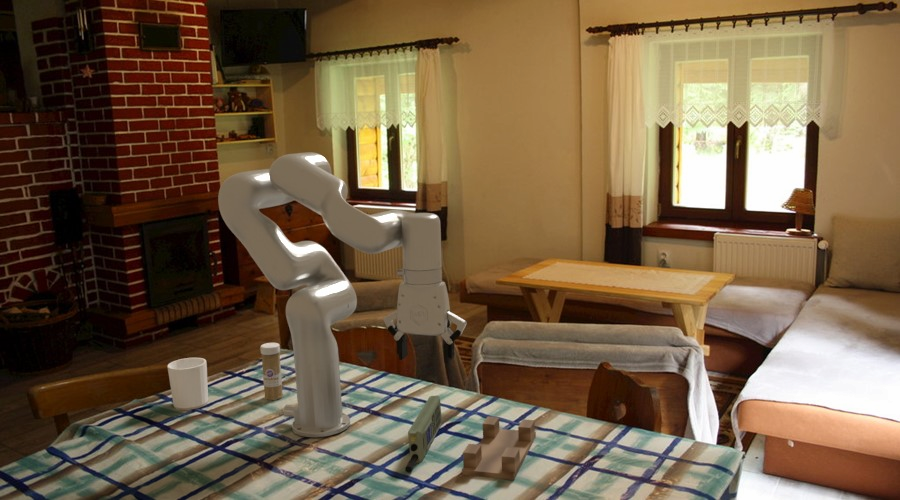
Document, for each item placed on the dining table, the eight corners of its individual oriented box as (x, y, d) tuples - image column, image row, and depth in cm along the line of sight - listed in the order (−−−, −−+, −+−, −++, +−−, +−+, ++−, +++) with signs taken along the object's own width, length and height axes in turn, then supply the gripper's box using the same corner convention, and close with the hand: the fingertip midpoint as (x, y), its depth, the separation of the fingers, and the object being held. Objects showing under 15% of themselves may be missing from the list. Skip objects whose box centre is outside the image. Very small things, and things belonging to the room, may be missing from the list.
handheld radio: (444, 424, 172) (417, 476, 148) (429, 424, 172) (400, 476, 148) (442, 395, 171) (414, 443, 146) (427, 395, 171) (397, 443, 147)
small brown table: (462, 474, 147) (461, 454, 146) (489, 432, 166) (488, 414, 165) (513, 480, 144) (513, 459, 143) (535, 436, 163) (535, 418, 162)
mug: (218, 401, 191) (214, 360, 189) (188, 413, 183) (184, 371, 182) (188, 393, 197) (184, 354, 195) (158, 405, 189) (153, 364, 188)
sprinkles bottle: (264, 401, 189) (260, 348, 187) (264, 395, 193) (260, 343, 191) (283, 399, 190) (279, 346, 188) (283, 393, 194) (279, 341, 192)
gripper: (374, 278, 153) (378, 362, 156) (458, 282, 147) (461, 369, 150) (389, 270, 160) (393, 350, 163) (470, 274, 154) (472, 357, 157)
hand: (425, 359), depth 157 cm, fingers open, 9 cm apart
